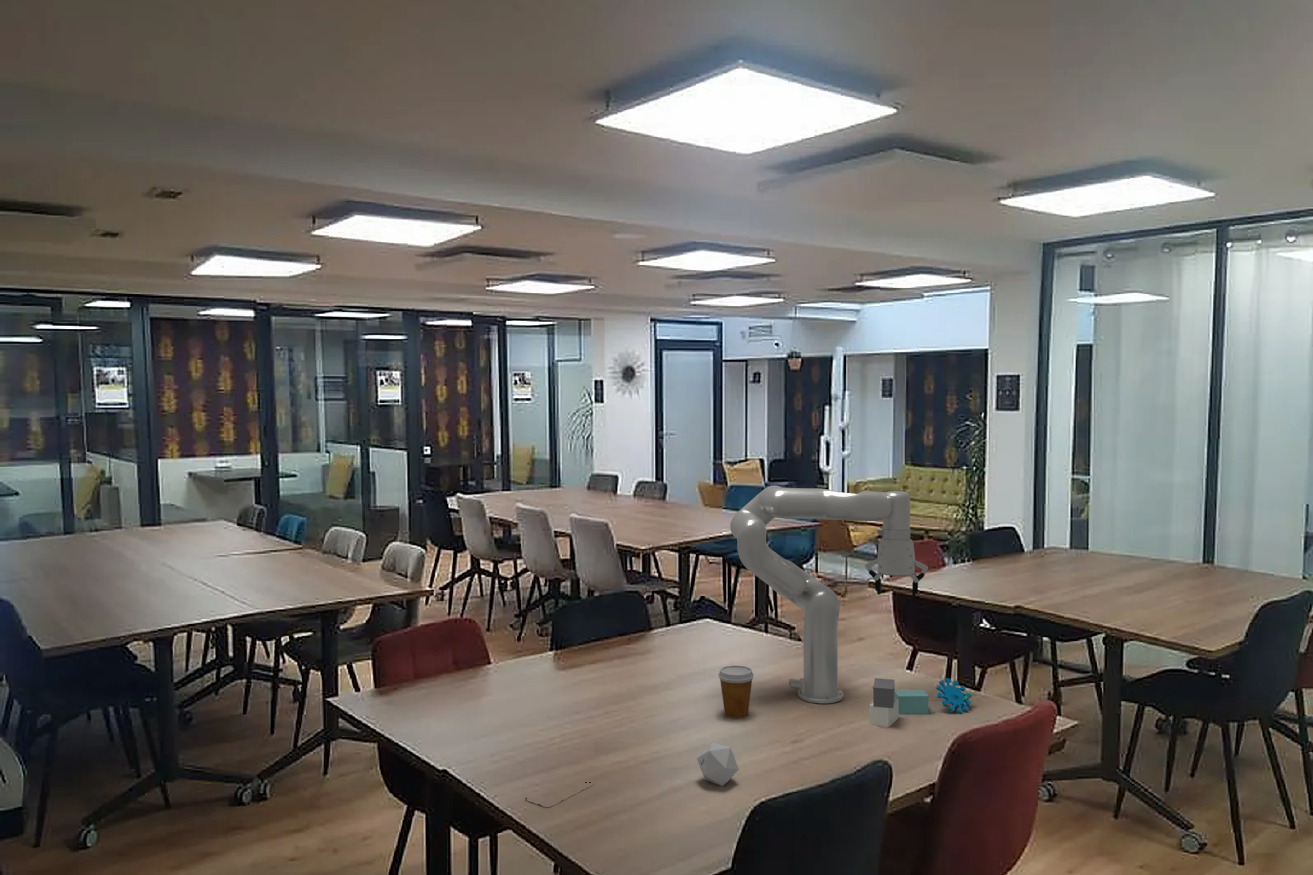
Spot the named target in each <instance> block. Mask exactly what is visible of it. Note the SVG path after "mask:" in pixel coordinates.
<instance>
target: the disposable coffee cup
mask: <svg viewBox="0 0 1313 875" xmlns="http://www.w3.org/2000/svg"><path fill="white" fill-rule="evenodd" d="M719 669H720V670H719V673H718V676H717V677H718V678H719V682H720V687H721V689H720V690H721V697H722V704H723V710H724V715H725V716H726V717H727V718H731V719H744V718H746V717H748V715H749V710H750V702H751V692H752V683H753V679H754V677H755V674H754V673H753V669H752V668H751V667H748V666H745V665H727V666H723V667H721V668H719Z"/></svg>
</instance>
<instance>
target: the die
mask: <svg viewBox="0 0 1313 875" xmlns="http://www.w3.org/2000/svg"><path fill="white" fill-rule="evenodd" d="M696 761H697V763H698V765H699V768H700V770H701V774H702V776H703V778H704V780H705V781H707V782H710V783H712V784H715V785H717V786H721V787H723V786H724V785H726V783H727V782H729V780H730V779H732V778H733V776H734V775H736V773H738V771H739V770H740V769H739V766H738V764H737V762H736V759H735V756H734V753H733V751H732V747H730V746H727V745H722V744H719V743H716V742H711V743H710V744H709V746H707V748H705V749H704V751H702V753H700V754H699V755H698V757H696Z"/></svg>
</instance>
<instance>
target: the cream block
mask: <svg viewBox="0 0 1313 875" xmlns="http://www.w3.org/2000/svg"><path fill="white" fill-rule="evenodd" d="M868 707H869V714H868V715H869V719H868V720H869V725H873V726H878V727H884V728H889V727H890V726H892V725H893V724H894V723H895V722H896V721H897V720H898V719H900V718H899V716H900V714H899V712H898V699H894V707H893V708H884V707H873V702H871V703H870V704H869V706H868Z"/></svg>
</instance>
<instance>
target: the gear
mask: <svg viewBox="0 0 1313 875" xmlns="http://www.w3.org/2000/svg"><path fill="white" fill-rule="evenodd" d="M951 682H952V680H951V678H948V677H946V678H945V680H943V679H942V680H941V679H940V681H939V682H938V685H937V686H936V688H935V689H936V690H937V691H938V693H937V694H936V697H937V698H938V699H943V700H942V701H941V705H942V706H944V707H946V706H947V705H950V706H949V707H948V710H949V711H950V712H951V713H953V712H954V711H956V713H957V714H963V712H968V711H969V707H970V706H971V705H972V701H971V700H969V699H970V698H971V697H972V696H974V694H973V693H974V692H972V691H970V692H966V693H965V691H966V686H964V685H961V686H960V687H957V686H958V685H959V682H960V681H959V682H958V681H957V680H956V679H954V680H953V682H952V684H950V683H951ZM955 707H957V709H956V710H955Z"/></svg>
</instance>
